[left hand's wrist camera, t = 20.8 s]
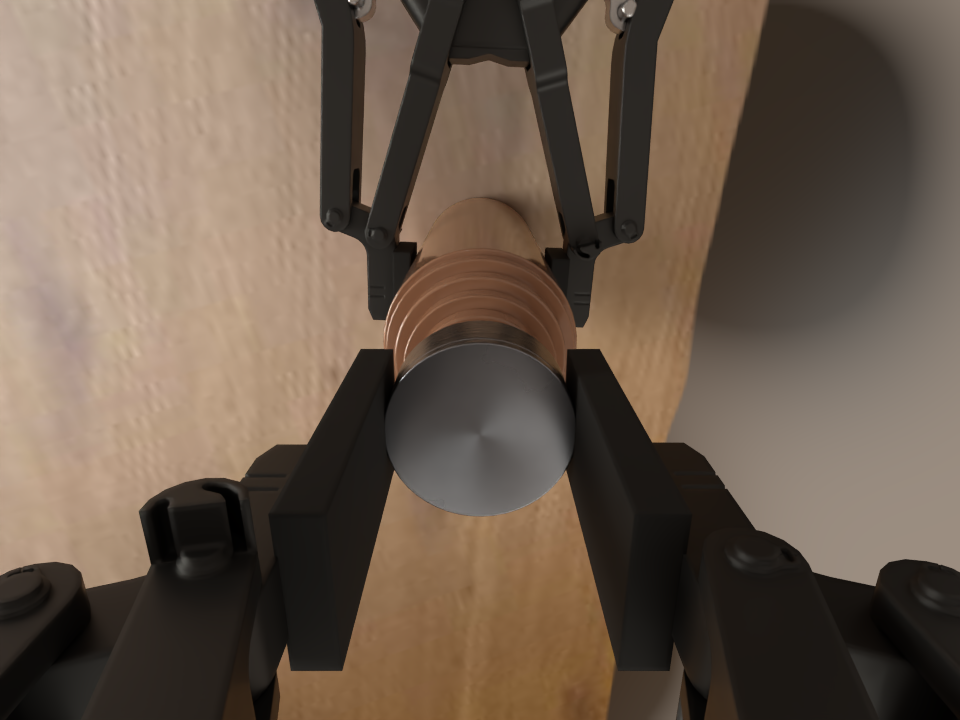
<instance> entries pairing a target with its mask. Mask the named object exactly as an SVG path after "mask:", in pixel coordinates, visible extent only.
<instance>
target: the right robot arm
mask: <svg viewBox="0 0 960 720" xmlns="http://www.w3.org/2000/svg"><path fill="white" fill-rule="evenodd" d="M587 1H588V0H401V2H402V3H403V5H404V7H405V8H406V10H407V11H408V13H409V15H410V16H411V18H412V20H413V21H414V23H415V24H416V26H417V28H418V29H419V31H420V33H419V36H418V40H417V43H416V47H415V50H414V54H413V57H412V61H411V66H410V74H409V78H408V81H407V85H406V88H405V92H404V95H403V99H402V102H401V106H400V109H399V113H398V116H397V120H396V123H395V127H394V130H393V134H392V137H391V141H390V144H389V148H388V151H387V155H386V158H385V162H384V166H383V169H382V173H381V176H380V180H379V183H378V187H377V190H376V194H375V197H374V201H373V204H372V208H371V207H368V206H366V205H363V204H361V179H362V149H363V118H364V88H365V57H366V47H365V34H364V26H363V22H366V21H368V20H370V19H371V18H372V17H373V15H374V13H375V10H376V0H314V2H315V6H316V9H317V12H318V15H319V19H320V22H321V25H322V52H321V155H320V219H321V222H322V224H323V225H324V227H325V228H327V229H328V230H330V231H333V232H338V231H339V232H342V233H344V234H347V235H349V236H352V237H354V238H356V239H358V240H359V241H360V242H361V243H362V244H363V245H364V247H365V249H366V252H367V272H368V309H369V311H370V313H371V316H372V318H373V320H386V317H387V314H388V311H389V308H390V305H391V303H392V301H393V299H394V297H395V295H396V293H397V291H398V290H399V288H400V286H401V284H402V282H403V280H404V278H405V277H406V275H407V273H408V271H409V269H410V267H411V265H412V263H413V262H414V260H415V258H416V256H417V242H400V243H399V234H400V232H401V230H402V229H401V227H402V224H403V221H404V218H405V214H406V211H407V208H408V205H409V201H410V198H411V195H412V191H413V188H414V185H415V182H416V178H417V175H418V172H419V169H420V165H421V162H422V159H423V156H424V152H425V149H426V146H427V142H428V139H429V136H430V133H431V129H432V126H433V123H434V120H435V116H436V113H437V110H438V107H439V103H440V100H441V97H442V94H443V91H444V88H445V86H446V83H447V80H448V77H449V74H450V70H451V67H452V64H462V65H471V64H475V63H479V62H483V61H487V60H490V61H493V62H496V63H499V64H502V65H505V66H508V67H524V68H525V72H526V77H527V81H528V86H529V89H530V92H531V95H532V99H533V104H534V108H535V113H536V117H537V122H538V127H539V131H540V136H541V140H542V145H543V149H544V154H545V159H546V163H547V168H548V172H549V177H550V181H551V186H552V191H553V195H554V200H555V204H556V209H557V213H558V218H559V223H560V227H561V232H562V236H563V239H564V241H563V249H562V248H545V259H546V261H547V263H548V265H549V267H550V269H551V271H552V272H553V274H554V276H555V278H556V280H557V282H558V284H559V285H560V287H561V289H562V291H563V293H564V295H565V297H566V299H567V300H568V303H569V305H570V308H571V310H572V313H573V317H574V321H575V325H576V327H583V326H584V325H585V323H586V321H587V319H588V317H589V309H590V299H591V290H592V281H593V271H594V263H595V260H596V258H597V256H598V255H599V254H600V252H601V251H603V250H604V249H606V248H609V247H612V246H615V245H618V244H621V243H628V244H629V243H633V242H635V241H637V240H638V239H639V238H640V237H641V236H642V234H643V231H644V222H645V208H646V194H647V180H648V166H649V153H650V139H651V125H652V111H653V97H654V83H655V69H656V55H657V41H658V39H659V36H660V34H661V31H662V29H663V26H664V24H665V21H666V19H667V16H668V13H669V11H670V8H671V6H672V3H673V1H674V0H604V1H605V5H606V12H605V23H606V25H607V27H608V29H609V30H610V31H612V32H613V33H615V34H616V38H615V42H614V46H613V51H612V61H611V78H610V98H609V119H608V139H607V160H606V181H605V201H604V213H603V214H600V215H597V216H594V213H593V208H592V203H591V198H590V193H589V188H588V183H587V178H586V172H585V167H584V162H583V157H582V152H581V147H580V142H579V137H578V132H577V127H576V122H575V117H574V112H573V107H572V102H571V97H570V92H569V87H568V80H567V66H566V61H565V56H564V51H563V46H562V41H561V36H562V34H563V33H564V32H565V30H566V29H567V28H568V26H569V25H570V24H571V22H572V21H573V20H574V18H575V17H576V16H577V14H578V13H579V12H580V10H581V9H582V8H583V6H584V5H585V3H586V2H587Z"/></svg>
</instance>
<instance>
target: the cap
mask: <svg viewBox="0 0 960 720" xmlns="http://www.w3.org/2000/svg"><path fill="white" fill-rule="evenodd" d="M384 419H385V437H386V451H387V455H388V458H389V460H390V462H391V464H392V466H393V468H394V470H395V471H396V473H397V474H398V476H399V477H400V479H401V480H402V481H403V482H404V483H405V485H406V486H407V487H408V488H409V489H410V490H411V491H413V492H414V493H415V494H416V495H417V496H419V497H420V498H422V499H423V500H424V501H426V502H428V503H430V504H432V505H433V506H435V507H438V508H440V509H443V510H445V511H448V512H452V513H456V514H460V515H467V516H494V515H500V514H505V513H509V512H512V511H515V510H518V509H520V508H522V507H525V506H527V505H529V504H531V503H532V502H534V501H536V500H537V499H539V498H540V497H542V496H543V495H544V494H546V493H547V492H548V491H549V490H550V489H551V488H552V487H553V486H554V485H555V484H556V483H557V482H558V480H559V479H560V478H561V476H562V475H563V474H564V472H565V470H566V469H567V467H568V465H569V463H570V461H571V458H572V456H573V453H574V443H575V427H576V414H575V409H574V406H573V403H572V400H571V397H570V394H569V391H568V389H567V386H566V383H565V380H564V377H563V374H562V371H561V369H560V367H559V365H558V363H557V362H556V360H555V359H554V357H553V356H552V354H551V353H550V352H549V351H548V350H547V349H546V348H545V346H544V345H543V344H542V343H540V342H539V341H538V340H537V339H535V338H534V337H533V336H531V335H529V334H528V333H526V332H524V331H523V330H520V329H518V328H516V327H514V326H511V325H507V324H504V323H500V322H494V321H480V320H477V321H466V322H461V323H457V324H453V325H450V326H447V327H444V328H442V329H440V330H438V331H436V332H434V333H432V334H431V335H429V336H428V337H426V338H425V339H424V340H422V341H421V342H420V343H419V344H418V345H417V346H416V347H415V348H414V349H413V350H412V351H411V352H410V354H409V355H408V356H407V358H406V359H405V361H404V362H403V364H402V366H401V368H400V370H399V372H398V375H397V377H396V380H395V383H394V386H393V389H392V392H391V395H390V398H389V400H388V404H387V407H386V411H385V415H384Z"/></svg>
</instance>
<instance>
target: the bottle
mask: <svg viewBox="0 0 960 720" xmlns="http://www.w3.org/2000/svg"><path fill="white" fill-rule="evenodd" d="M477 320H480V321H494V322H500V323H504V324H507V325H511V326H514V327H516V328H518V329H520V330H523V331H524V332H526V333H528V334H529V335H531V336H533V337H534V338H535V339H537V340H538V341H539V342H540V343H542V344H543V345H544V346H545V348H546V349H547V350H548V351H549V352H550V353H551V354H552V356H553V357H554V359H555V360H556V362H557V363H558V365H559V367H560V369H561V371H562V374H563V377H564V380H565V381H566V363H567V349H576V344H577V334H576V325H575V321H574V317H573V313H572V310H571V308H570V305H569V303H568V300H567V299H566V297H565V295H564V293H563V291H562V289H561V287H560V285H559V284H558V282H557V280H556V278H555V276H554V274H553V272H552V271H551V269H550V267H549V265H548V263H547V261H546V259H545V258H544V256H543V254H542V252H541V250H540V248H539V246H538V244H537V243H536V241H535V239H534V237H533V235H532V233H531V231H530V230H529V228H528V226H527V224H526V223H525V221H524V220H523V218H522V217H521V216H520V215H519V214H518V213H517V212H516V211H515V210H514V209H512V208H511V207H510V206H508V205H506V204H504V203H502V202H500V201H497V200H494V199H490V198H471V199H466V200H463V201H460V202H458V203H456V204H454V205H452V206H451V207H449V208H448V209H446V210H445V211H444V212H443V213H442V214H441V215H440V216H439V217H438V218H437V220H436V221H435V223H434V224H433V226H432V228H431V230H430V232H429V233H428V235H427V237H426V239H425V241H424V243H423V245H422V247H421V248H420V250H419V252H418V254H417V256H416V258H415V260H414V262H413V263H412V265H411V267H410V269H409V271H408V273H407V275H406V277H405V278H404V280H403V282H402V284H401V286H400V288H399V290H398V291H397V293H396V295H395V297H394V299H393V301H392V303H391V305H390V308H389V311H388V314H387V317H386V322H385V327H384V340H383V342H384V349H393V355H394V374H395V380H396V377H397V375H398V372H399V370H400V368H401V366H402V364H403V362H404V361H405V359H406V358H407V356H408V355H409V354H410V352H411V351H412V350H413V349H414V348H415V347H416V346H417V345H418V344H419V343H420V342H421V341H422V340H424V339H425V338H426V337H428V336H429V335H431V334H432V333H434V332H436V331H438V330H440V329H442V328H444V327H447V326H450V325H453V324H457V323H461V322H466V321H477Z"/></svg>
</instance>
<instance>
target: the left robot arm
mask: <svg viewBox="0 0 960 720" xmlns="http://www.w3.org/2000/svg"><path fill="white" fill-rule="evenodd" d="M394 383H395V374H394V355H393V349H361V350H360V352H359V353H358V355H357V357H356V359H355V360H354V362H353V364H352V366H351V368H350V369H349V371H348V373H347V375H346V376H345V378H344V380H343V382H342V384H341V385H340V387H339V389H338V391H337V393H336V394H335V396H334V398H333V400H332V401H331V403H330V405H329V407H328V409H327V410H326V412H325V414H324V416H323V417H322V419H321V421H320V423H319V425H318V426H317V428H316V430H315V432H314V433H313V435H312V437H311V439H310V441H309V442H308V444H307V445H276V446H274V447H273V448H271V449H270V450H268V451H267V452H265V453H264V454H262V455H261V456H259V457H258V458H256V460H255V461H254V463H253V464H252V465H251V467H250V468H249V470H248V471H247V473H246V474H245V478H242V480H241V481H240V482H238V481H234V480H230V479H226V478H204V479H199V480H194V481H189V482H184V483H182V484H179V485H176V486H174V487H171V488H168V489H166V490H164V491H162V492H161V493H159V494H158V495H156V496H154V497H153V498H151V499H149V500H148V502H147V503H146V504H145V505H144V506H143V507H142V508H141V509H140V510H139V514H140V519H141V523H142V527H143V532H144V536H145V540H146V544H147V549H148V553H149V557H150V561H151V567H150V569H149V571H148V573H147V575H145V576H142V577H138V578H134V579H131V580H126V581H121V582H117V583H112V584H107V585H102V586H97V587H93V588H88V589H86V588H85V585H84V581H83V578H82V574H81V572H80V571H79V570H77V569H76V568H75V567H74V566H73V565H70V564H65V563H59V562H50V563H40V564H33V565H29V566H24V567H23V568H17V569H14V570H11V571H9V572H7V573H5V574H3V575H1V576H0V720H277V718H278V710H279V701H280V692H279V685H278V678H277V672H276V670H277V668H278V665H279V662H280V660H281V657H282V655H283V652H284V649H285V647H286V644H287V647H288V654H289V661H290V668H291V671H342V670H343V666H344V662H345V658H346V654H347V650H348V646H349V643H350V639H351V635H352V631H353V627H354V623H355V619H356V615H357V612H358V608H359V604H360V600H361V596H362V592H363V588H364V584H365V581H366V577H367V573H368V569H369V565H370V561H371V557H372V553H373V549H374V546H375V542H376V538H377V534H378V530H379V526H380V522H381V518H382V515H383V511H384V507H385V503H386V499H387V495H388V491H389V487H390V484H391V480H392V476H393V472H394V468H393V466H392V464H391V462H390V460H389V458H388V455H387V451H386V437H385V419H384V415H385V411H386V407H387V404H388V400H389V398H390V395H391V392H392V389H393V386H394ZM565 383H566V386H567V389H568V391H569V394H570V397H571V400H572V403H573V406H574V409H575V414H576V427H575V443H574V453H573V456H572V458H571V461H570V463H569V465H568V467H567V469H566V470H567V474H568V478H569V482H570V486H571V490H572V494H573V498H574V501H575V505H576V509H577V513H578V517H579V521H580V525H581V529H582V532H583V536H584V540H585V544H586V548H587V552H588V556H589V560H590V563H591V567H592V571H593V575H594V579H595V583H596V587H597V591H598V594H599V598H600V602H601V606H602V610H603V614H604V618H605V622H606V625H607V629H608V633H609V637H610V641H611V645H612V649H613V653H614V656H615V660H616V664H617V668H618V671H669V670H670V664H671V657H672V650H673V643H674V642H675V645H676V648H677V650H678V653H679V656H680V658H681V661H682V663H683V666H684V672H683V678H682V684H681V691H680V697H679V703H678V710H677V716H676V720H960V572H958V571H956V570H954V569H952V568H949V567H946V566H943V565H938V564H936V563H931V562H927V561H918V560H908V559H904V560H899V561H893V562H889V563H888V564H887V565H885V566H884V567H883V568H882V569H881V570H880V573H879V576H878V580H877V583H876V586H871V585H866V584H861V583H857V582H851V581H847V580H842V579H837V578H833V577H829V576H825V575H821V574H818V573H814V572H812V570H811V568H810V566H809V564H808V562H807V561H806V560H805V558H804V557H803V556H802V554H801V553H800V552H799V551H798V550H797V549H795V548H794V547H792V546H791V545H790V544H788V543H787V542H785V541H784V540H782V539H780V538H777V537H775V536H773V535H770V534H768V533H766V532H762V531H757V530H756V529H755V528H754V527H753V525H752V524H751V522H750V521H749V519H748V518H747V517H746V515H745V514H744V512H743V511H742V510H741V508H740V507H739V505H738V504H737V502H736V501H735V500H734V498H733V497H732V495H731V494H730V492H729V491H728V490H727V489H725V485H724V484H723V482H722V481H721V480H720V478H719V477H718V476H717V475H715V471H714V470H713V468H712V467H711V465H710V464H709V463H708V461H707V460H706V458H705V457H704V456H703V455H701V454H700V453H698V452H697V451H695V450H694V449H692V448H691V447H689V446H688V445H686V444H685V443H652V442H651V440H650V438H649V436H648V434H647V433H646V431H645V429H644V427H643V426H642V424H641V422H640V420H639V418H638V417H637V415H636V413H635V411H634V410H633V408H632V406H631V404H630V402H629V401H628V399H627V397H626V395H625V394H624V392H623V390H622V388H621V386H620V385H619V383H618V381H617V379H616V378H615V376H614V374H613V372H612V370H611V369H610V367H609V365H608V363H607V362H606V360H605V358H604V356H603V354H602V353H601V351H600V349H567V363H566V381H565Z"/></svg>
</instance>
